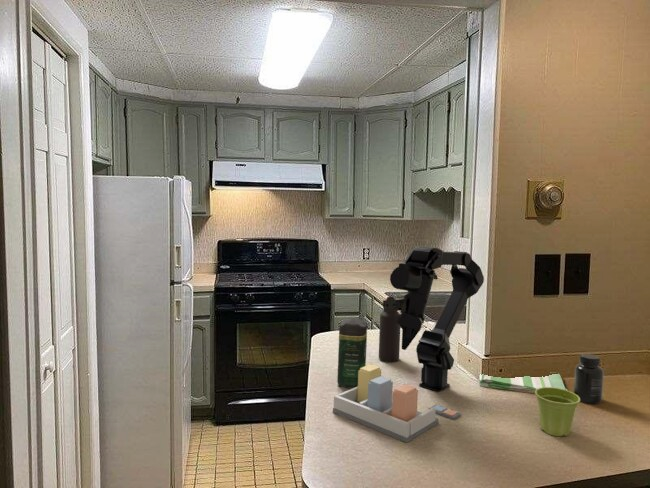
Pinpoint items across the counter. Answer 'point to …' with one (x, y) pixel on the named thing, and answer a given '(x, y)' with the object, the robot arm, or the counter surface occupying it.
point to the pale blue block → (380, 394)
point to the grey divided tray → (382, 417)
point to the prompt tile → (446, 412)
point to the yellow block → (366, 380)
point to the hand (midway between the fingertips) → (403, 349)
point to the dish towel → (522, 382)
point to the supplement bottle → (589, 379)
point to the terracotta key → (405, 402)
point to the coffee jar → (351, 351)
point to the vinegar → (389, 337)
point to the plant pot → (556, 410)
